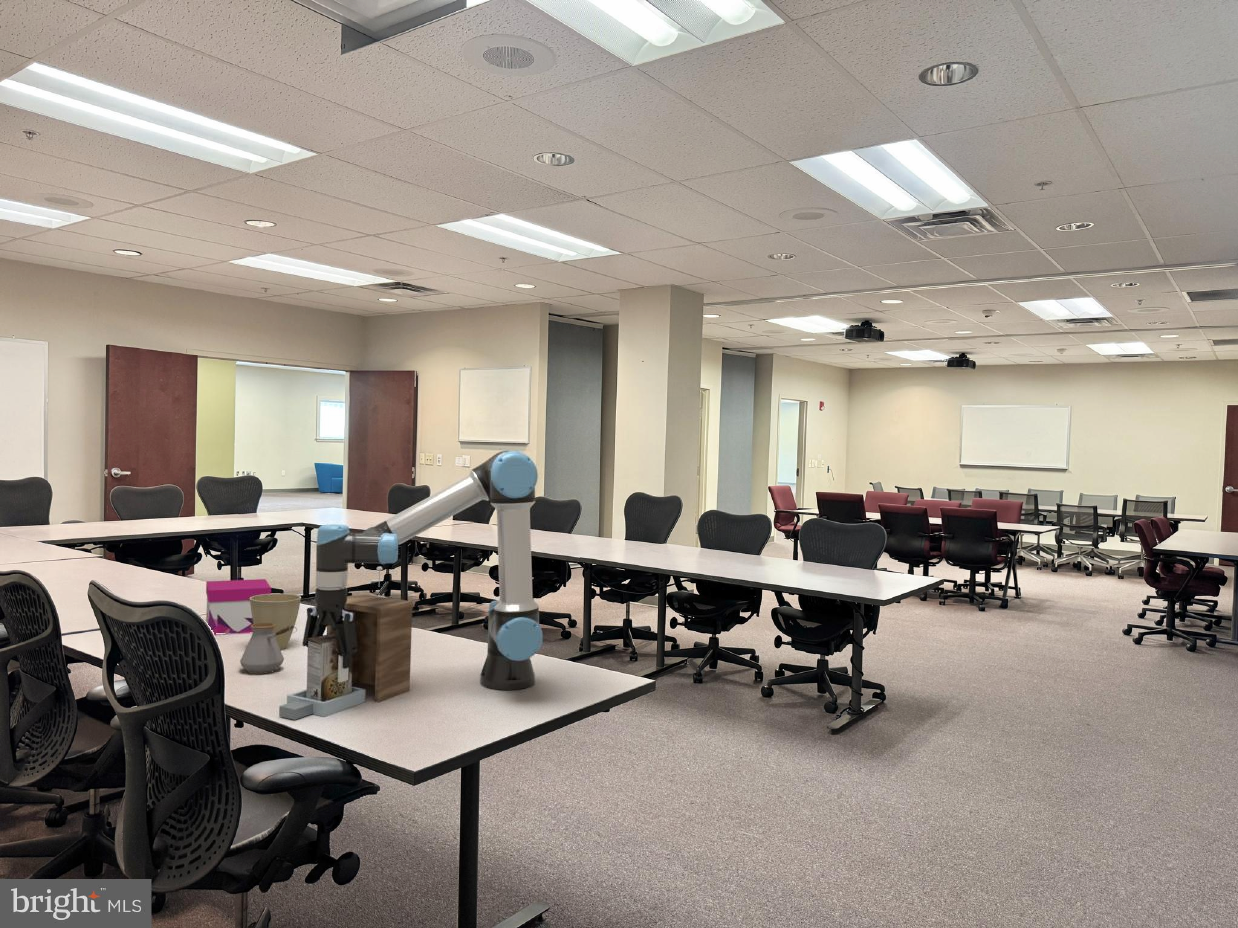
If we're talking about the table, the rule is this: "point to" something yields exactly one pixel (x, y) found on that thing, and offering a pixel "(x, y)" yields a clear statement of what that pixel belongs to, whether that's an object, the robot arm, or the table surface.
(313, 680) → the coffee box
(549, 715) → the table surface
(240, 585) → the decorative box
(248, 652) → the coffee pot
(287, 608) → the plant pot
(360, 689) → the tray
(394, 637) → the wooden cubby shelf
